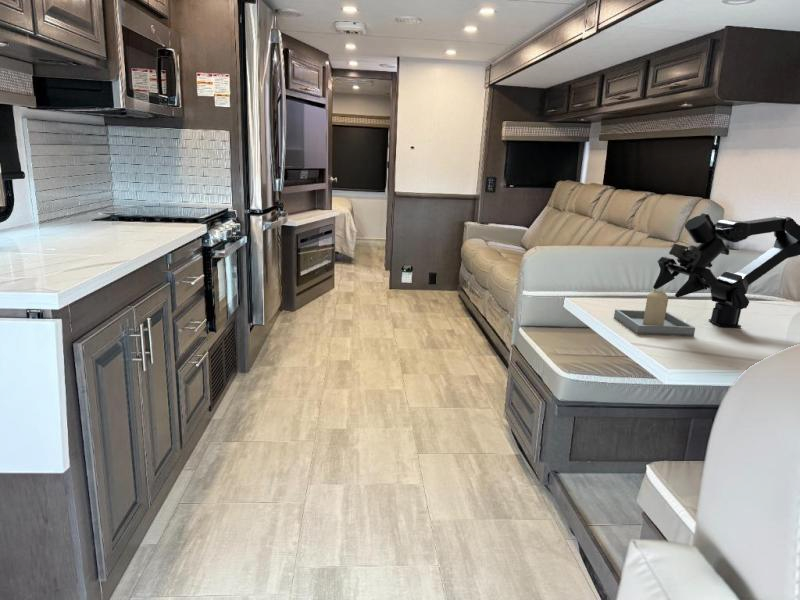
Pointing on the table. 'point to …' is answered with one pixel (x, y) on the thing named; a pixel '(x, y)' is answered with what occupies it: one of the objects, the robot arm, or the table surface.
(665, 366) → the table surface
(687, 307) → the table surface
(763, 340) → the table surface
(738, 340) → the table surface
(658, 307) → the candle
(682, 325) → the tray
